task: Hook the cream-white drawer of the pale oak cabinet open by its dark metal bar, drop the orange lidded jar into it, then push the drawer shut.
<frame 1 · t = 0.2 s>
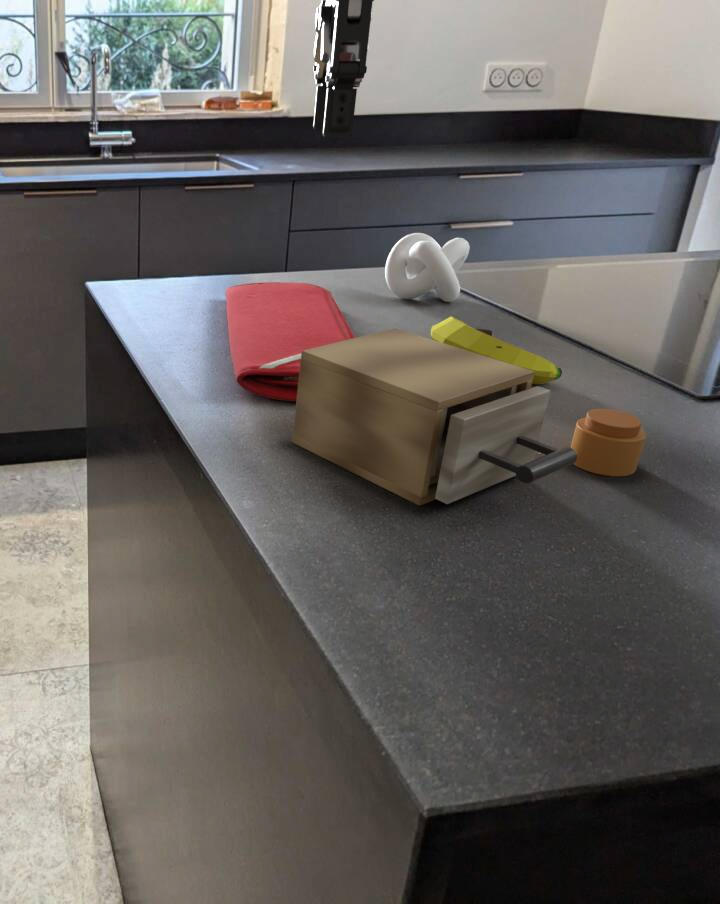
hand: (330, 135, 69), 27 cm above the counter, tool pointing down, fingers open, 8 cm apart
orange lidded jar: (601, 462, 74), on the counter
cabinet: (398, 455, 75), on the counter
dish drying mat: (289, 345, 104), on the counter
white knot sculpture: (428, 297, 126), on the counter
banana: (496, 362, 99), on the counter
drawer: (453, 427, 69), point 5 cm above the counter, slide at 0.8 cm
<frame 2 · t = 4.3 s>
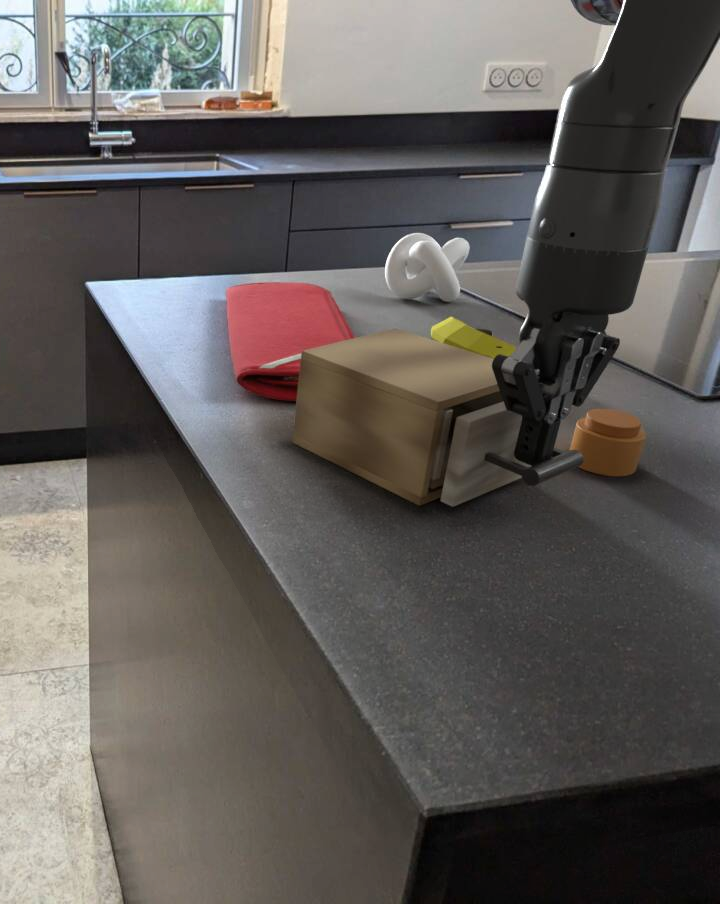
hand: (531, 460, 64), 4 cm above the counter, tool pointing down, fingers closed
drawer: (458, 429, 69), point 5 cm above the counter, slide at 1.3 cm, touching gripper
everything else where it was.
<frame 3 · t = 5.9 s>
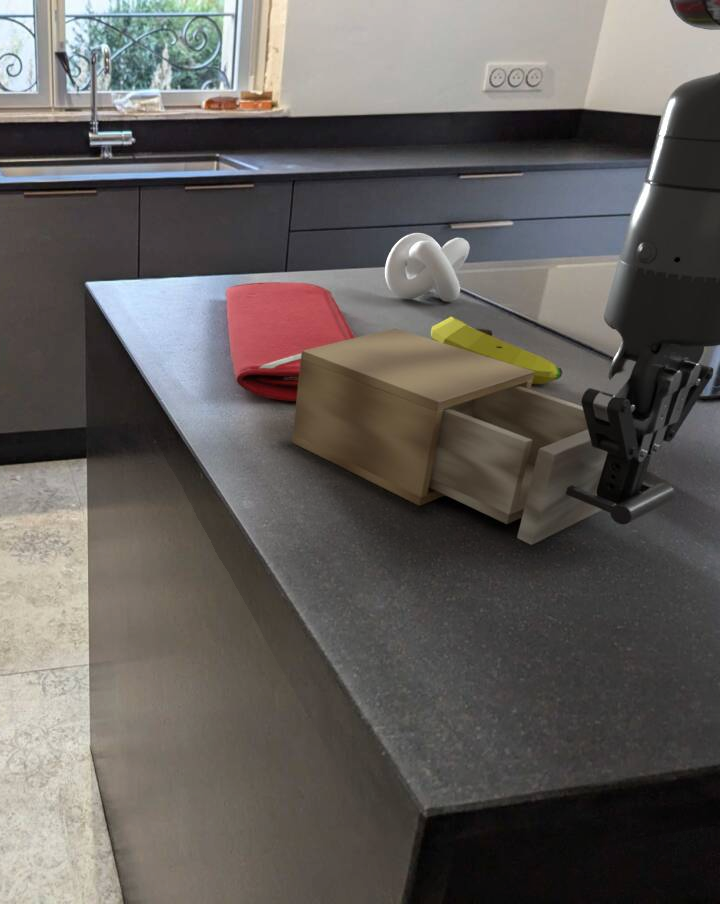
hand: (615, 499, 59), 4 cm above the counter, tool pointing down, fingers closed
drawer: (532, 459, 64), point 5 cm above the counter, slide at 8.0 cm, touching gripper
everything else where it was.
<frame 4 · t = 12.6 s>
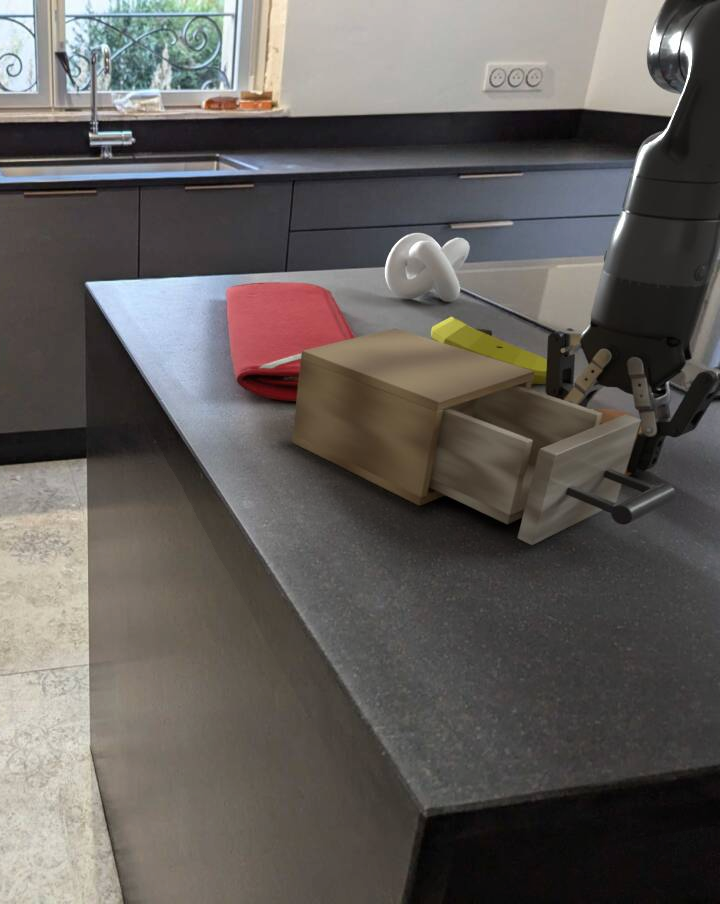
hand: (602, 458, 74), 0 cm above the counter, tool pointing down, fingers closed on orange lidded jar, 5 cm apart
orange lidded jar: (601, 463, 74), on the counter, touching gripper
drawer: (532, 459, 64), point 5 cm above the counter, slide at 8.0 cm
everything else where it was.
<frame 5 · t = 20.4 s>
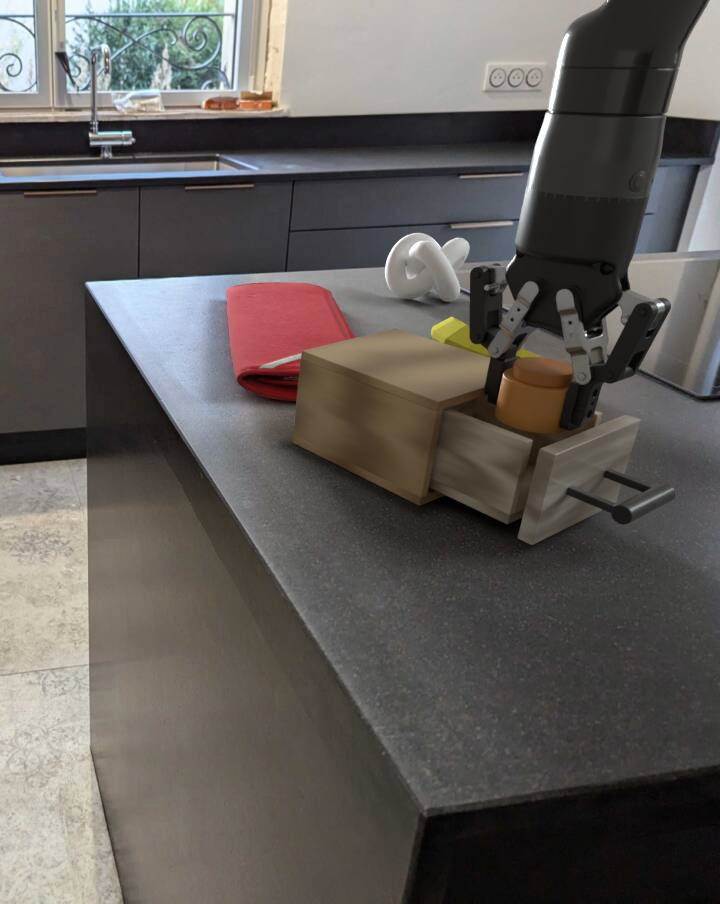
hand: (533, 413, 63), 8 cm above the counter, tool pointing down, fingers closed on orange lidded jar, 5 cm apart
orange lidded jar: (532, 419, 63), point 8 cm above the counter, touching gripper
everything else where it was.
when the fingers open (11 cm above the counter, at t = 36.2 s): orange lidded jar drops 9 cm, resting on drawer.
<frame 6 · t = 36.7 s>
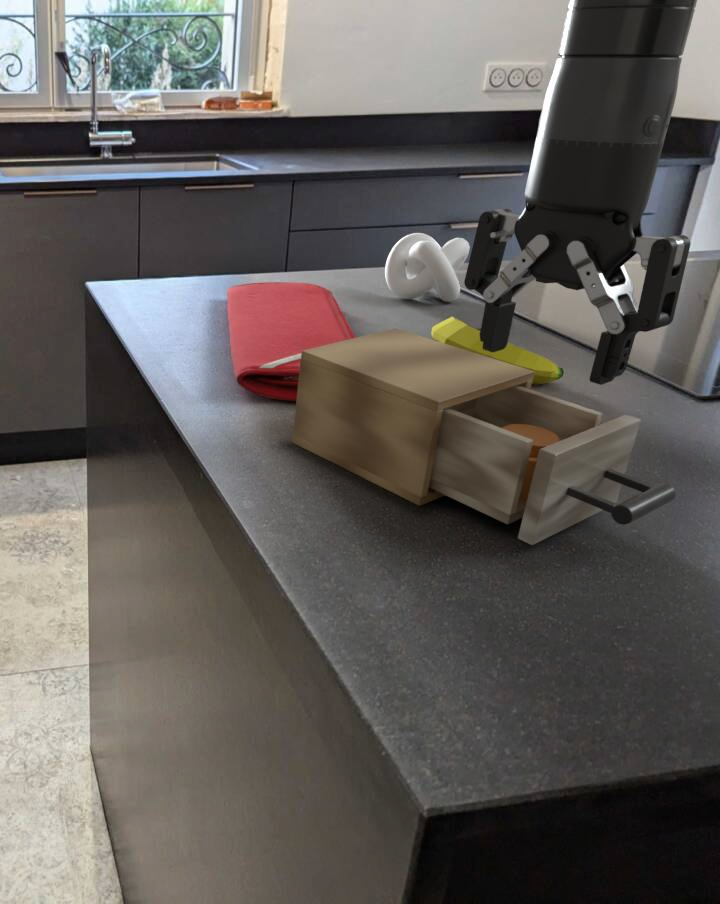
hand: (544, 364, 61), 12 cm above the counter, tool pointing down, fingers open, 8 cm apart
orange lidded jar: (517, 484, 66), point 2 cm above the counter, touching drawer
drawer: (532, 459, 64), point 5 cm above the counter, slide at 8.0 cm, touching orange lidded jar
everything else where it was.
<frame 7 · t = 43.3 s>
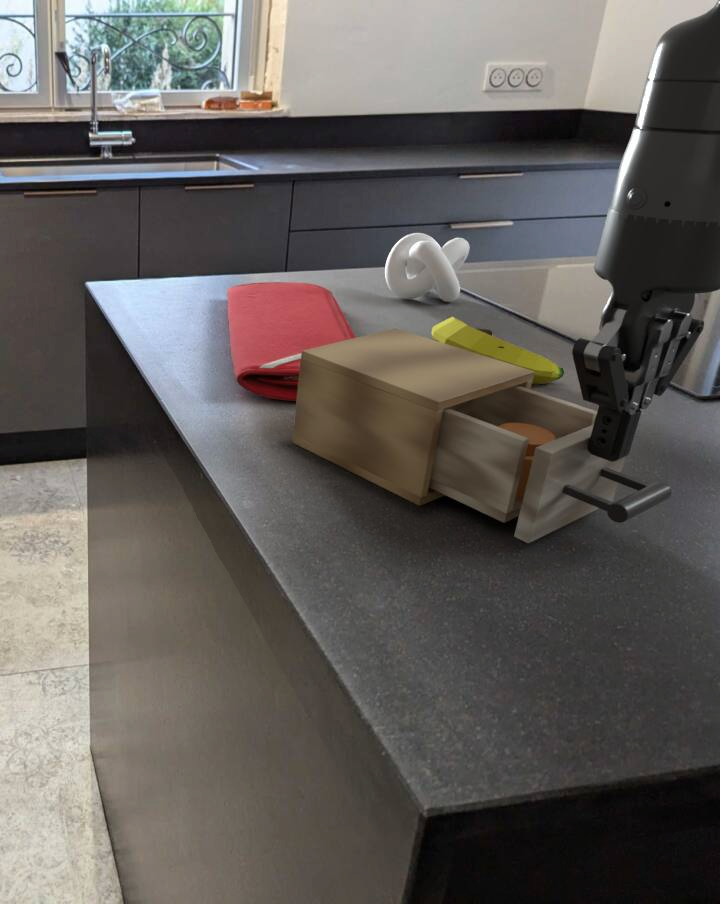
hand: (606, 455, 59), 7 cm above the counter, tool pointing down, fingers closed
drawer: (529, 457, 64), point 5 cm above the counter, slide at 7.7 cm, touching orange lidded jar, gripper
everything else where it was.
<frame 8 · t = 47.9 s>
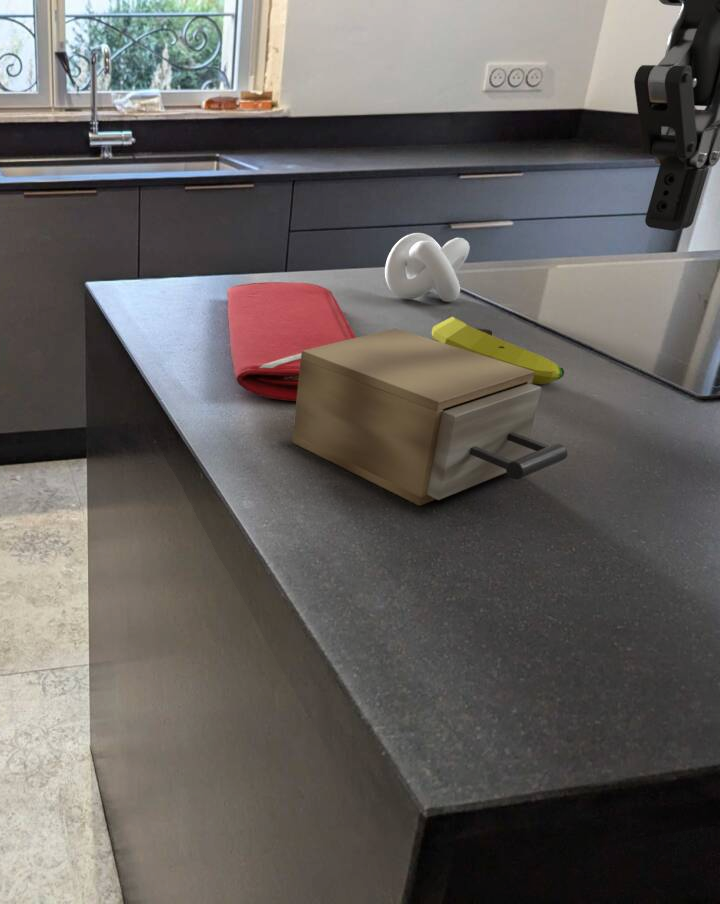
hand: (667, 227, 52), 23 cm above the counter, tool pointing down, fingers closed
orange lidded jar: (433, 448, 72), point 2 cm above the counter, touching drawer
drawer: (445, 424, 70), point 5 cm above the counter, slide at 0.0 cm, touching orange lidded jar
everything else where it was.
at the end: drawer pulled out 8.0 cm at the most during the clip, back to where it started at the end; orange lidded jar inside the target area in the cabinet (3.4 cm from its centre), point 2.0 cm above the cabinet's base; drawer slide at 0.0 cm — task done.
